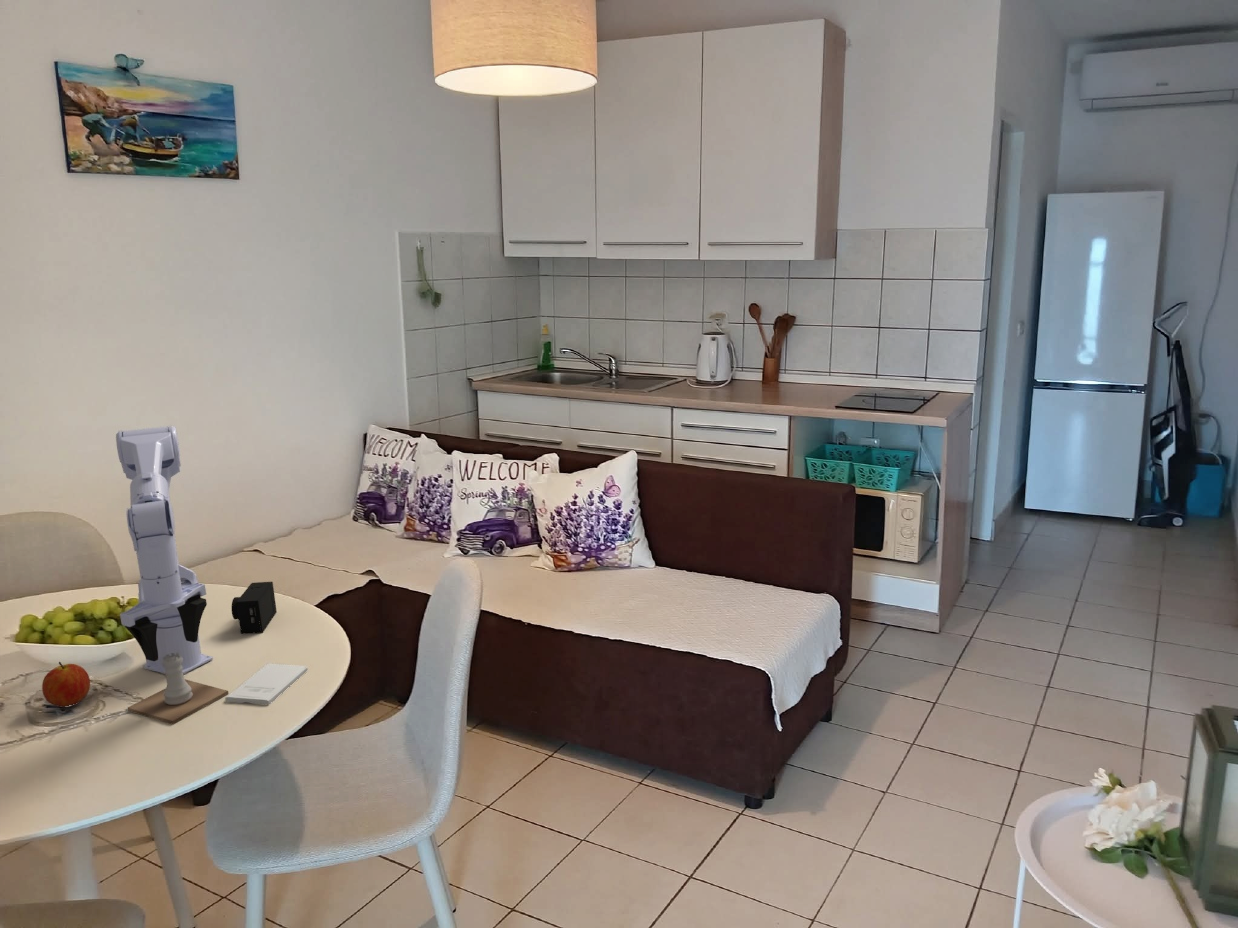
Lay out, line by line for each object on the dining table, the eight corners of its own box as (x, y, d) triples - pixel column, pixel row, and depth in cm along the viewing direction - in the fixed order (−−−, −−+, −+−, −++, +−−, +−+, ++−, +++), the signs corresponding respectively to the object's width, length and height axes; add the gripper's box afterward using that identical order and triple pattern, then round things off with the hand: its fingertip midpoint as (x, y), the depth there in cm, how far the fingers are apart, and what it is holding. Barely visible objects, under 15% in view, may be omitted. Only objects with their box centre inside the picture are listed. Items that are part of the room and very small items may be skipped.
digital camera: (250, 614, 195) (245, 582, 193) (276, 612, 195) (272, 580, 194) (234, 634, 185) (229, 601, 183) (262, 633, 185) (258, 599, 184)
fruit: (89, 690, 164) (81, 648, 162) (97, 705, 159) (88, 661, 157) (43, 703, 160) (34, 660, 158) (49, 719, 154) (40, 674, 152)
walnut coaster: (128, 710, 156) (127, 707, 156) (184, 681, 166) (183, 678, 165) (173, 724, 151) (172, 720, 151) (228, 693, 161) (228, 690, 160)
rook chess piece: (169, 694, 160) (162, 651, 158) (197, 692, 160) (190, 649, 158) (160, 707, 156) (152, 662, 154) (188, 704, 156) (181, 660, 154)
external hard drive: (308, 674, 168) (269, 708, 157) (267, 671, 170) (225, 704, 158) (307, 665, 168) (268, 699, 156) (266, 662, 170) (224, 695, 158)
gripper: (136, 592, 145) (149, 672, 148) (213, 561, 157) (224, 636, 161) (106, 585, 148) (120, 664, 152) (184, 556, 161) (196, 630, 164)
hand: (172, 649), depth 156 cm, fingers open, 7 cm apart
